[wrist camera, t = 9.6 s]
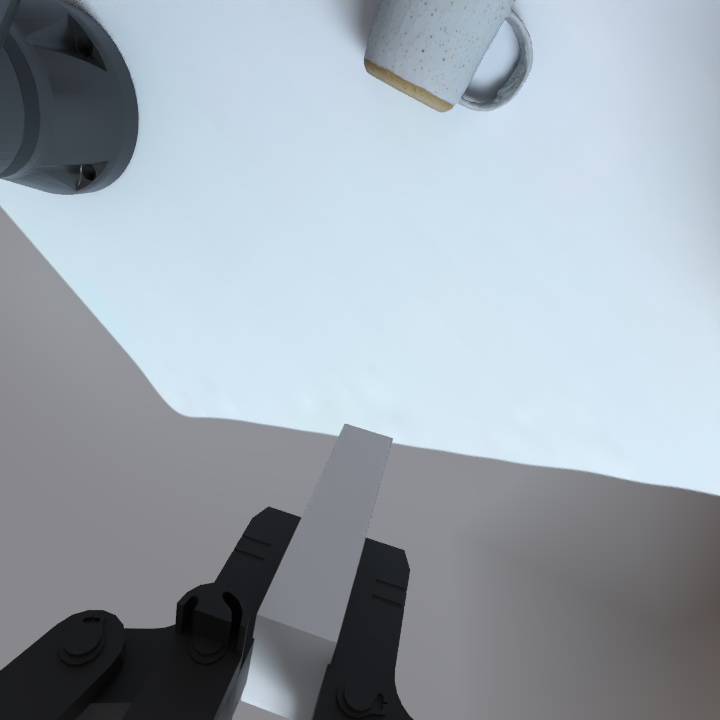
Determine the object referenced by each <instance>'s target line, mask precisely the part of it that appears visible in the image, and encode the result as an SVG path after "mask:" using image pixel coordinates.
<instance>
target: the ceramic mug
mask: <svg viewBox="0 0 720 720" xmlns="http://www.w3.org/2000/svg"><path fill="white" fill-rule="evenodd" d="M514 2H515V0H382V3H381V6H380V9H379V11H378V14H377V17H376V19H375V22H374V24H373V27H372V29H371V32H370V35H369V39H368V42H367V47H366V51H365V57H364V65H365V68H366V70H367V72H368V73H369V74H371V75H372V76H374V77H376V78H377V79H379V80H381V81H383V82H385V83H386V84H388V85H390V86H392V87H393V88H395V89H397V90H399V91H401V92H403V93H404V94H406V95H408V96H410V97H412V98H414V99H416V100H418V101H420V102H422V103H423V104H425V105H427V106H429V107H431V108H433V109H435V110H437V111H439V112H445V111H448V110H450V109H452V107H453V106H454V105H455V104H456V103H459V104H460V105H462V106H465V107H467V108H469V109H472V110H476V111H492V110H494V109H497V108H500V107H501V106H503V105H505V104H507V103H508V102H509V101H510V100H511V99H512V98H514V96H515V95H516V94H517V93H518V92H519V90H520V89H521V87H522V86H523V84H524V83H525V81H526V79H527V77H528V75H529V72H530V70H531V66H532V61H533V50H532V42H531V39H530V35H529V33H528V31H527V29H526V27H525V25H524V23H523V22H522V20H521V19H520V18H519V17H518V15H517V14H516V13H515V12H514V11H512V9H511V7H512V5H513V3H514ZM504 19H505V20H506V21H507V22H508V23H509V24H510V25H511V26H512V28H513V29H514V31H515V33H516V35H517V37H518V40H519V44H520V50H521V54H520V59H519V61H518V65H517V67H516V69H515V70H514V72H513V73H512V75H511V76H510V78H509V79H508V81H507V82H506V84H505V85H504V86H503V87H502V88H501V89H499V90H498V92H497V96H496V98H494V99H492V100H491V101H486V102H482V103H477V102H471V101H468V100H465V99H464V98H463V97H462V95H463V93H464V92H465V90H466V88H467V87H468V85H469V83H470V81H471V79H472V77H473V75H474V74H475V72H476V69H477V67H478V66H479V64H480V62H481V60H482V58H483V56H484V54H485V53H486V51H487V49H488V48H489V46H490V44H491V43H492V41H493V39H494V38H495V36H496V34H497V32H498V30H499V28H500V26H501V25H502V23H503V21H504Z"/></svg>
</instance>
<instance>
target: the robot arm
mask: <svg viewBox="0 0 720 720" xmlns="http://www.w3.org/2000/svg"><path fill="white" fill-rule="evenodd" d="M137 135H138V106H137V99H136V94H135V90H134V86H133V83H132V79H131V76H130V74H129V71H128V69H127V66H126V64H125V62H124V60H123V58H122V56H121V54H120V52H119V51H118V49H117V47H116V46H115V44H114V43H113V41H112V40H111V39H110V37H109V36H108V34H107V33H106V32H105V31H104V30H103V29H102V28H101V26H100V25H99V24H98V23H97V22H96V21H94V20H93V19H92V18H91V17H90V16H89V15H87V14H86V13H85V12H83V11H82V10H80V9H79V8H77V7H76V6H74V5H72V4H70V3H68V2H65V1H63V0H0V179H4V180H7V181H11V182H14V183H17V184H21V185H24V186H28V187H31V188H34V189H38V190H41V191H44V192H48V193H53V194H61V195H73V194H82V193H90V192H95V191H98V190H101V189H103V188H105V187H107V186H109V185H110V184H112V183H113V182H114V181H115V180H117V179H118V178H119V177H120V175H121V174H122V173H123V172H124V170H125V169H126V167H127V166H128V164H129V162H130V160H131V158H132V155H133V152H134V149H135V145H136V141H137ZM392 440H393V438H390V437H387V436H384V435H380V434H377V433H374V432H371V431H367V430H364V429H361V428H358V427H354V426H351V425H348V424H344V427H343V429H342V431H341V433H340V435H339V437H338V440H337V442H336V444H335V446H334V448H333V450H332V453H331V455H330V457H329V459H328V461H327V463H326V466H325V468H324V470H323V472H322V474H321V477H320V479H319V481H318V483H317V485H316V487H315V490H314V492H313V494H312V496H311V498H310V500H309V502H308V505H307V507H306V509H305V511H304V513H303V515H302V518H301V517H298V516H295V515H292V514H289V513H286V512H283V511H280V510H277V509H274V508H271V507H267V508H266V509H264V510H263V511H262V512H260V513H259V514H258V515H256V516H255V517H253V518H252V520H251V521H250V523H249V525H248V526H247V528H246V530H245V531H244V533H243V535H242V538H240V540H239V542H238V543H237V545H236V547H235V549H234V551H233V552H232V554H231V555H230V557H229V559H228V560H227V562H226V564H225V565H224V567H223V569H222V570H221V572H220V574H219V575H218V577H217V579H216V580H215V582H214V583H209V584H204V585H200V586H198V587H196V588H194V589H192V590H191V591H188V592H187V593H186V594H185V595H184V596H183V597H182V598H181V599H180V601H178V603H177V610H176V624H175V625H172V626H169V627H166V628H156V629H130V628H129V629H128V628H125V629H124V626H123V624H122V623H121V621H120V620H119V619H118V618H117V616H116V615H113V614H111V613H109V612H106V611H104V610H87V611H84V612H81V613H77V614H74V615H71V616H70V617H68V618H66V619H65V620H63V621H62V622H60V623H58V624H57V625H56V626H54V627H53V628H52V629H51V630H50V631H48V632H47V633H46V634H45V635H43V636H42V637H41V638H40V639H39V640H37V641H36V642H35V643H34V644H32V645H31V646H30V647H29V648H28V649H26V650H25V651H24V652H23V653H21V654H20V655H19V656H18V657H17V658H15V659H14V660H13V661H12V662H10V663H9V664H8V665H7V666H6V667H4V668H3V669H2V670H1V671H0V720H232V716H233V714H234V712H235V709H236V707H237V704H238V702H239V700H240V697H241V695H242V698H241V701H244V702H246V703H249V704H252V705H254V706H257V707H259V708H262V709H265V710H267V711H270V712H273V713H275V714H278V715H281V716H283V717H286V718H289V719H291V720H413V719H412V718H411V717H410V716H409V714H408V713H407V712H406V710H405V709H404V707H403V706H402V704H401V701H400V699H399V697H398V694H397V691H396V686H395V666H396V659H397V652H398V646H399V640H400V633H401V626H402V620H403V613H404V606H405V599H406V591H407V586H408V580H409V573H410V568H409V565H408V561H407V558H406V555H405V551H404V550H402V549H399V548H396V547H393V546H390V545H387V544H384V543H380V542H378V541H374V540H372V539H369V538H366V535H367V531H368V528H369V524H370V520H371V517H372V513H373V509H374V506H375V502H376V499H377V494H378V491H379V487H380V484H381V480H382V477H383V473H384V469H385V466H386V462H387V458H388V455H389V451H390V448H391V444H392Z"/></svg>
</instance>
